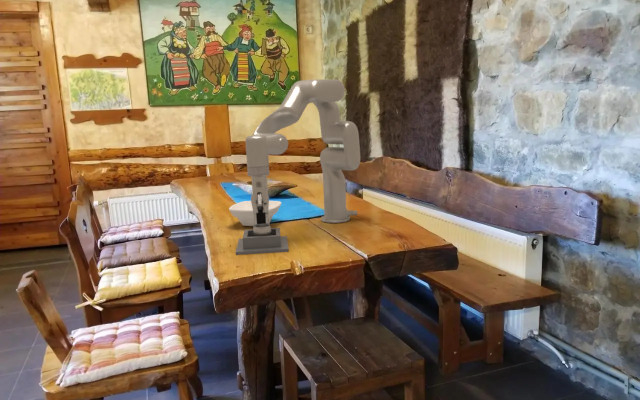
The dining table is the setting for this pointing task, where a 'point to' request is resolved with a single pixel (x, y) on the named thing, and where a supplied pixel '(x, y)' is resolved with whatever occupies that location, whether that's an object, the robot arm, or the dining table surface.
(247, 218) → the bowl
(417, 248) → the dining table surface
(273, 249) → the gray square tray
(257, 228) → the plastic bottle
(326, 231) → the dining table surface
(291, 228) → the dining table surface
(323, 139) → the robot arm
